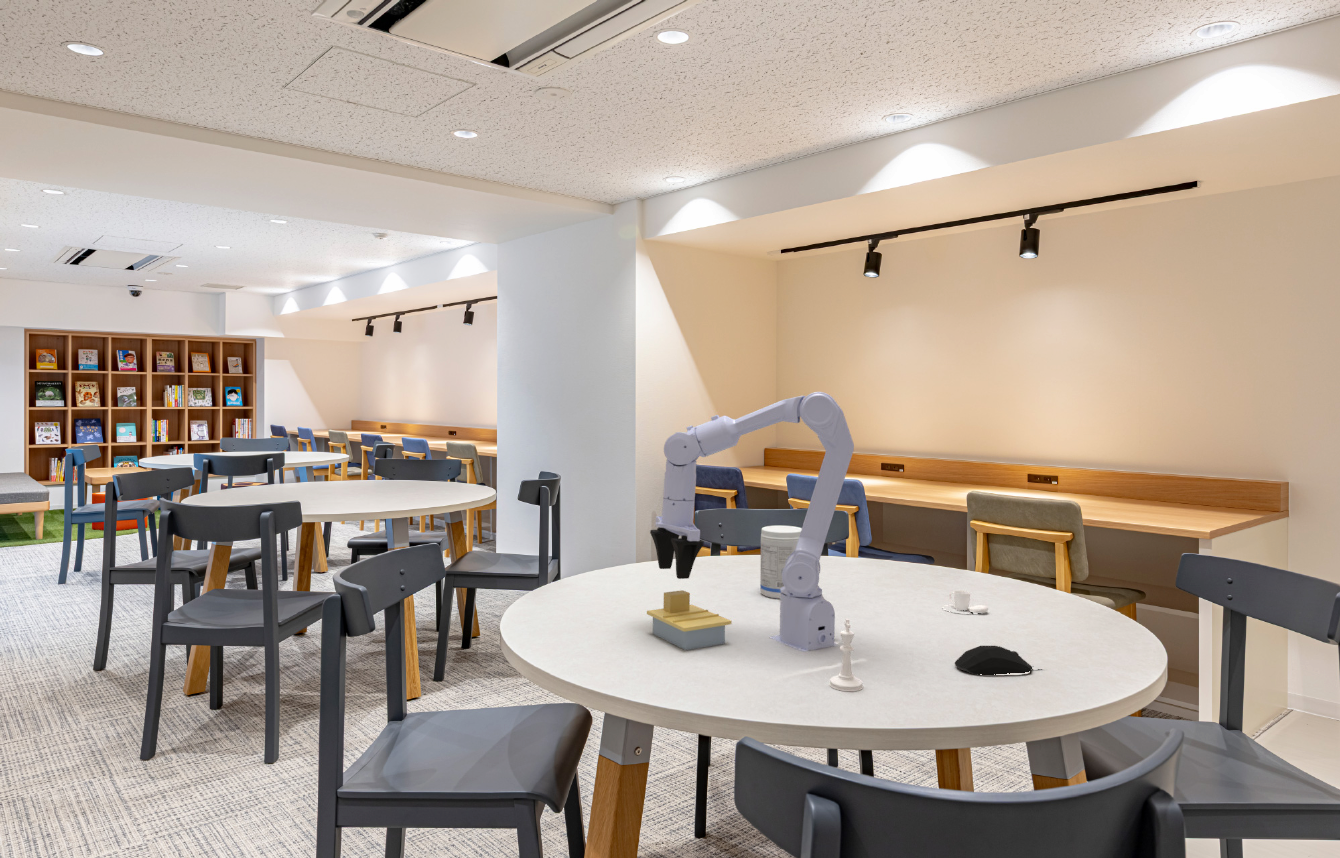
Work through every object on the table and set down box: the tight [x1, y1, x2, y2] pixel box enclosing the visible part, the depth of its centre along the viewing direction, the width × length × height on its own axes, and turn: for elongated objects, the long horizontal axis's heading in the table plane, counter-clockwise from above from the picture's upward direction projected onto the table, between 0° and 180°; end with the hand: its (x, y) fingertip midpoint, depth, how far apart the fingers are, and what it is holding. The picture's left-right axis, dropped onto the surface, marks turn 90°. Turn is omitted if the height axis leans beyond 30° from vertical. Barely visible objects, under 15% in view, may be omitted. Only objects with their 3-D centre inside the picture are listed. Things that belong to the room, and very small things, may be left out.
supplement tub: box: [759, 525, 802, 600], centre depth 177 cm, size 10×10×15 cm
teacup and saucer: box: [941, 590, 989, 614], centre depth 166 cm, size 9×8×4 cm
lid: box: [646, 589, 733, 632], centre depth 141 cm, size 13×10×4 cm
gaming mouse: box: [954, 645, 1033, 676], centre depth 128 cm, size 6×15×4 cm, turn 92°
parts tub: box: [652, 617, 726, 651], centre depth 141 cm, size 11×8×4 cm
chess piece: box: [828, 618, 864, 693], centre depth 120 cm, size 5×5×10 cm
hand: (673, 573), depth 146 cm, fingers open, 7 cm apart
